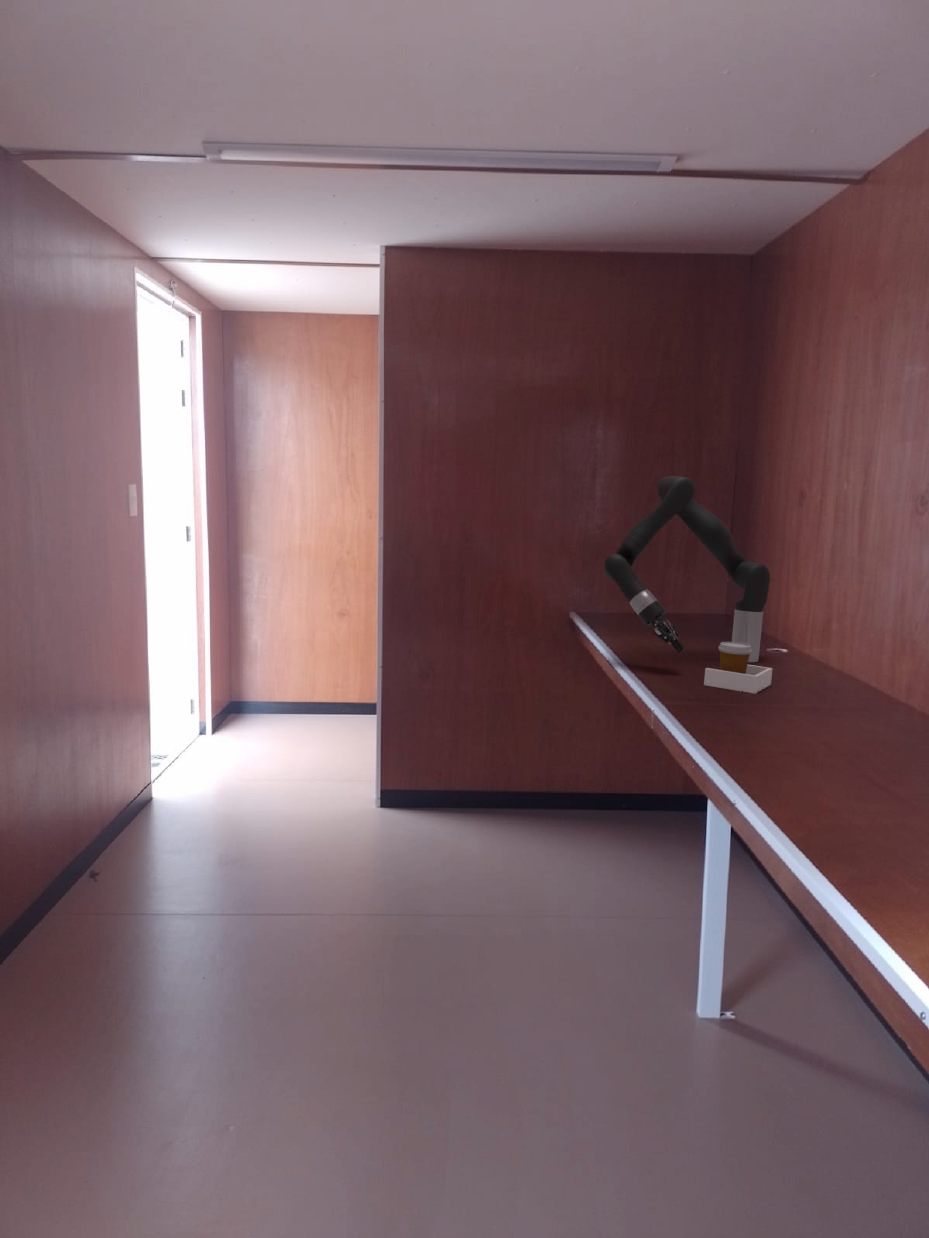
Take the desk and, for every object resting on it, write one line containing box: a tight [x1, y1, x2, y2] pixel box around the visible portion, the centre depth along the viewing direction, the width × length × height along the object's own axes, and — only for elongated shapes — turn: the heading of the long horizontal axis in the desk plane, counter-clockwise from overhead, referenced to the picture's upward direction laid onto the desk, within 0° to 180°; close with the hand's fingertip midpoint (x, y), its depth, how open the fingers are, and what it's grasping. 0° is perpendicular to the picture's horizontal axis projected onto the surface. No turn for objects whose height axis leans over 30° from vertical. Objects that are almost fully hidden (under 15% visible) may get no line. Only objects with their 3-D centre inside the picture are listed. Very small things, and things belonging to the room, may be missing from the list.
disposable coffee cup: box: [718, 641, 752, 674], centre depth 264 cm, size 10×10×12 cm
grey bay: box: [703, 663, 773, 695], centre depth 264 cm, size 16×15×5 cm
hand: (682, 651), depth 274 cm, fingers closed
